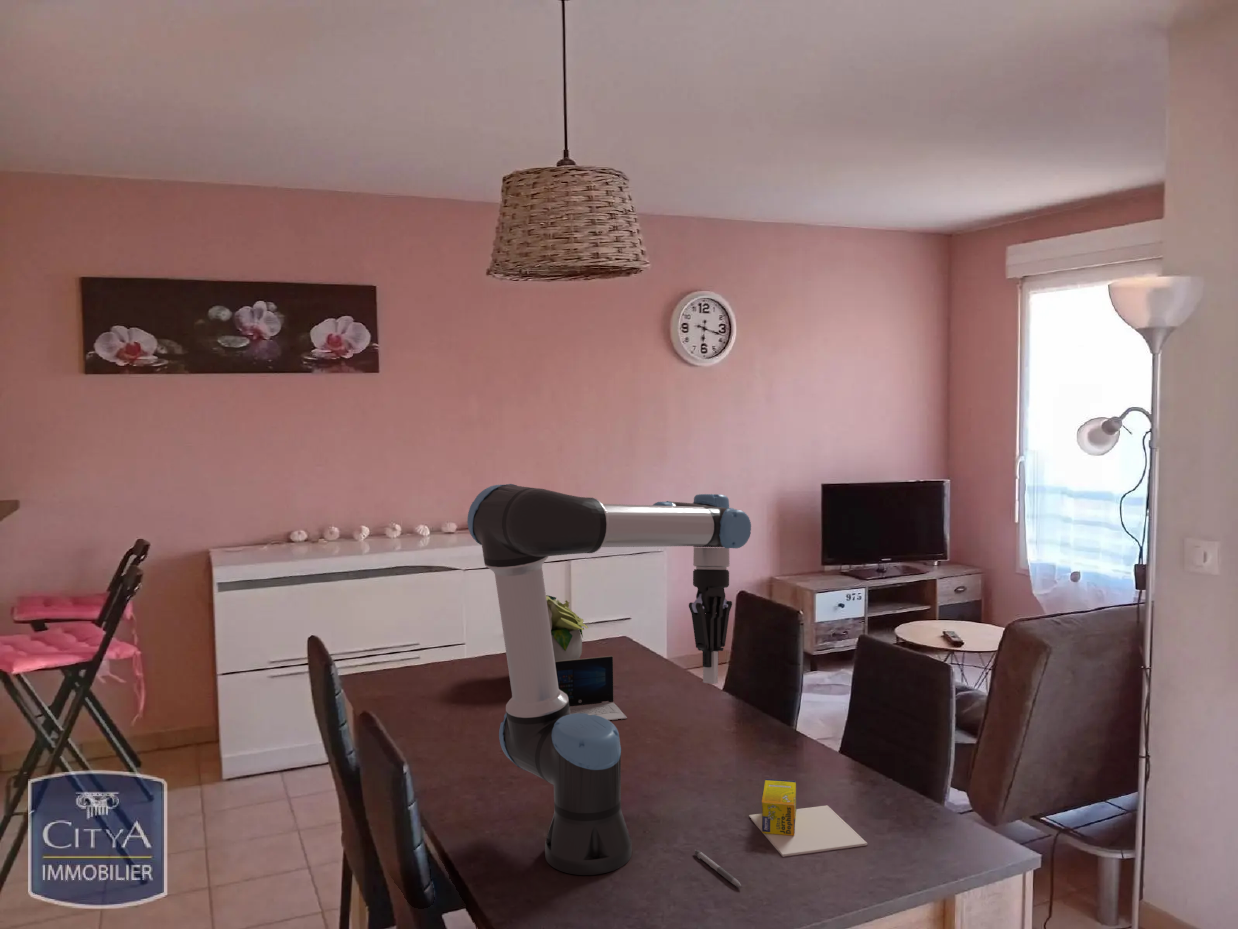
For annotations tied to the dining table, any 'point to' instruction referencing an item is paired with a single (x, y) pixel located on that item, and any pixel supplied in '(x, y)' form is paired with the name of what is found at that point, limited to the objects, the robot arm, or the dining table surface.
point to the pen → (718, 868)
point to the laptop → (589, 686)
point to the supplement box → (779, 807)
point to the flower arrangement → (564, 630)
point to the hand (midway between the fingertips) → (710, 682)
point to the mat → (813, 832)
